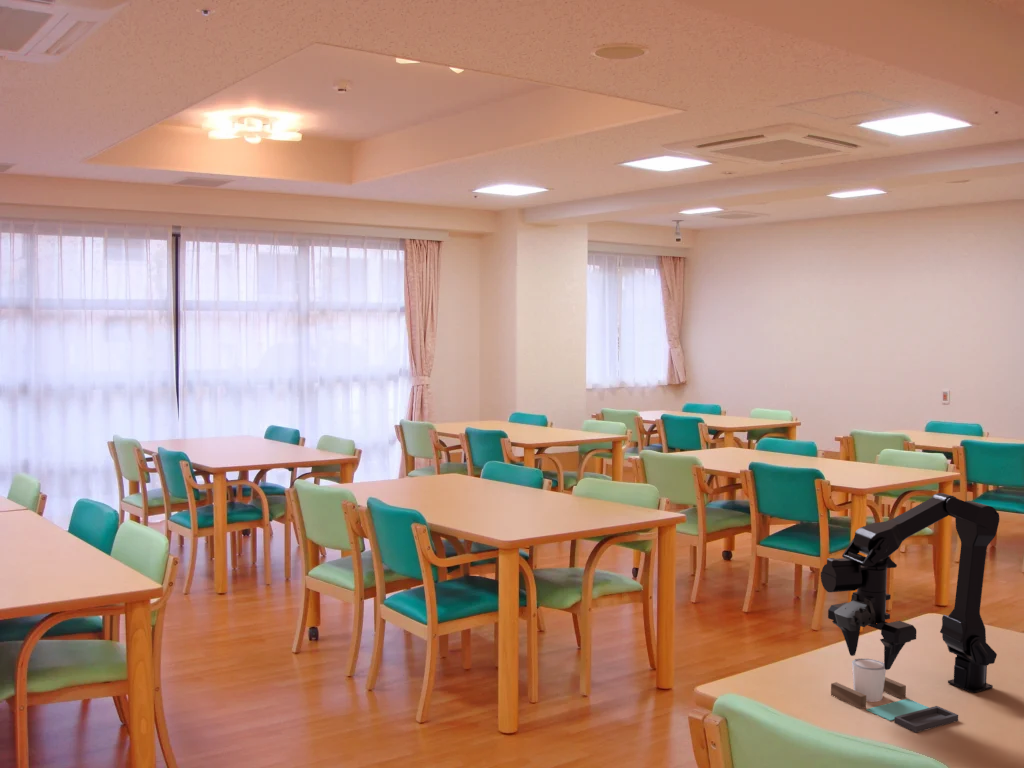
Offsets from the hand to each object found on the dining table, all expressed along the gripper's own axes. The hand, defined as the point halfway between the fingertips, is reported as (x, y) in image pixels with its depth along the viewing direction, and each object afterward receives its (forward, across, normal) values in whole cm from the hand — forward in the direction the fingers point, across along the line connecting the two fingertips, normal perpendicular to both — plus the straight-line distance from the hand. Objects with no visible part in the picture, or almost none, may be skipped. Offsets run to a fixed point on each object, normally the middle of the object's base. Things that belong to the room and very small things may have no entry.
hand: (869, 662), depth 204 cm
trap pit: (+7, +14, 0) cm, 16 cm away
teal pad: (+7, +8, 0) cm, 11 cm away
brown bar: (+7, 0, 0) cm, 7 cm away
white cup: (+8, 0, 0) cm, 8 cm away
